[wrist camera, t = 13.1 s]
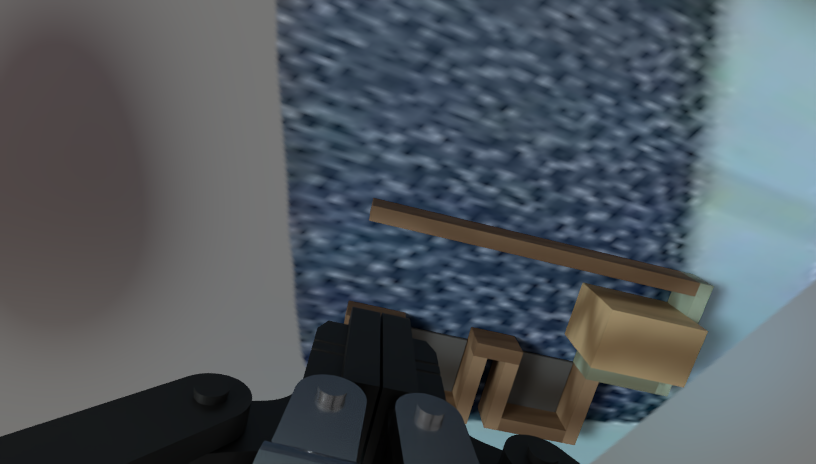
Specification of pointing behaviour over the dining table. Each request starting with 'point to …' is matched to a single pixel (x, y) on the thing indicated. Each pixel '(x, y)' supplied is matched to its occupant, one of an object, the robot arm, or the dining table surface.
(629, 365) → the block
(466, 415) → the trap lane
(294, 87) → the dining table surface
